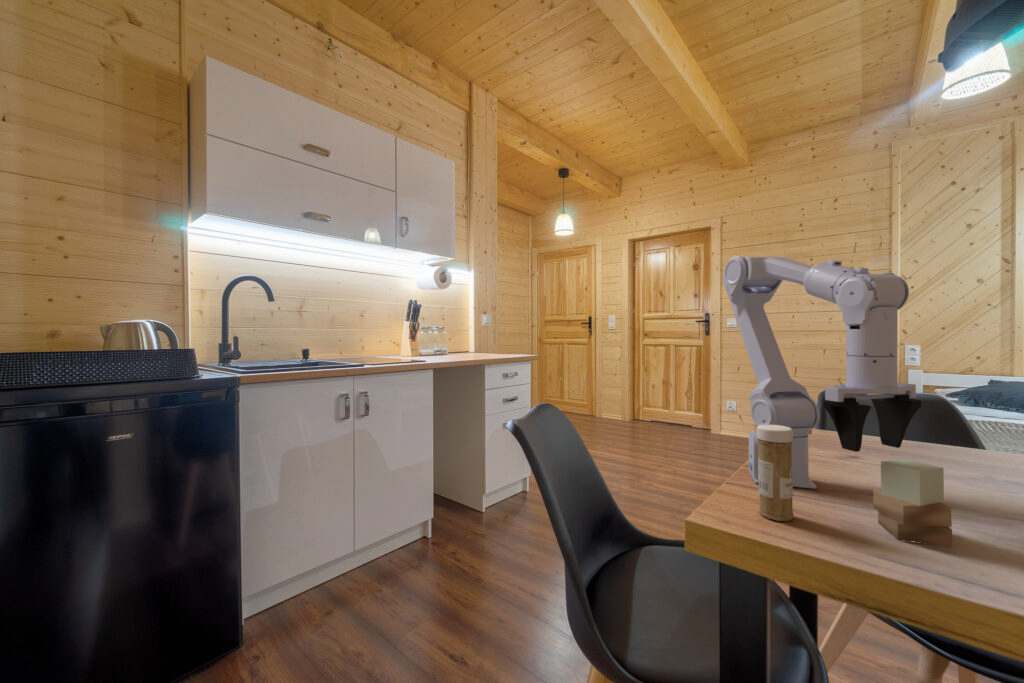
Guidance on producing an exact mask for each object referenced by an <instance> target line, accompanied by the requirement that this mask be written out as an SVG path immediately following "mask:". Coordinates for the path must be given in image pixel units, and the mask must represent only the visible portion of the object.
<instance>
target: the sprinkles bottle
mask: <svg viewBox="0 0 1024 683" xmlns="http://www.w3.org/2000/svg"><path fill="white" fill-rule="evenodd" d="M756 431H757V438H758V442H759V458H758V478H759V483H758V493H759V498H758V500H759V502H758V503H759V506H758V507H759V508H758V513H759V514H760V515H761V516H762V517H764V518H766V519H768V520H770V519H772V520H771V521H775V520H776V522H781V521H783V522H790V521H792V520H793V519H794V518H795V515H794V511H793V509H794V508H793V497H794V490H793V489H794V487H793V484H792V453H791V448H792V447H791V445H792V441H793V430H792V429H791V428H789V427H786V426H781V425H759V426H758V427H757V426H756Z"/></svg>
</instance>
